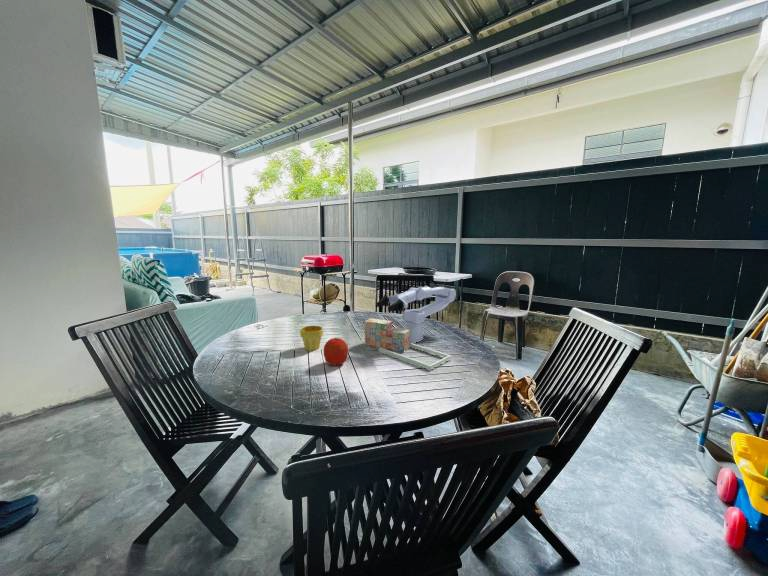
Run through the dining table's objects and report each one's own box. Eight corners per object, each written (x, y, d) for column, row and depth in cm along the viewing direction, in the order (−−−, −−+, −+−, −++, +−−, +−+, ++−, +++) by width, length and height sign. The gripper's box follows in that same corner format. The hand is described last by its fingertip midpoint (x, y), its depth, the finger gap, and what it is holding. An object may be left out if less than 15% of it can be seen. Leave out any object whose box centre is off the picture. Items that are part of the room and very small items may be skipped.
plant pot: (310, 354, 140) (310, 333, 138) (296, 348, 146) (295, 328, 144) (327, 347, 148) (327, 328, 146) (313, 342, 154) (313, 324, 153)
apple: (324, 369, 124) (324, 342, 122) (322, 360, 134) (322, 334, 132) (349, 367, 127) (349, 340, 125) (346, 357, 136) (345, 332, 134)
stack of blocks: (409, 348, 149) (410, 323, 147) (404, 352, 143) (404, 327, 141) (370, 341, 159) (370, 317, 156) (364, 344, 153) (364, 320, 151)
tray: (400, 343, 155) (400, 339, 155) (450, 359, 135) (451, 355, 135) (378, 351, 144) (378, 347, 143) (430, 370, 124) (430, 366, 124)
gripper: (392, 287, 154) (372, 295, 146) (414, 294, 144) (393, 303, 136) (393, 300, 157) (372, 309, 148) (414, 308, 146) (394, 317, 138)
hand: (382, 307), depth 142 cm, fingers open, 7 cm apart
